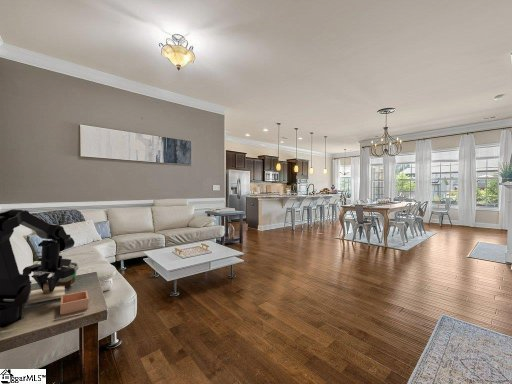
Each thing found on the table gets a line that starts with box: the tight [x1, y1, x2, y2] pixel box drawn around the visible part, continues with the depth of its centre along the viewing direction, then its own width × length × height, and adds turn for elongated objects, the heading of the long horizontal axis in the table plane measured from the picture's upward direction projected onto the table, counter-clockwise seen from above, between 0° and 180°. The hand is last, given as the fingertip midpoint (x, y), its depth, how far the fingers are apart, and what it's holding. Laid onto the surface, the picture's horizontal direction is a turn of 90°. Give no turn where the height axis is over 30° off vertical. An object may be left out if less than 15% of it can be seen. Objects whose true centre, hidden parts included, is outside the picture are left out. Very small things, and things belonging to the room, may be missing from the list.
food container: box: [56, 261, 80, 287], centre depth 111 cm, size 12×6×10 cm, turn 84°
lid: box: [28, 281, 66, 304], centre depth 97 cm, size 11×11×5 cm
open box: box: [59, 290, 90, 315], centre depth 91 cm, size 8×8×4 cm
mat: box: [23, 288, 68, 309], centre depth 97 cm, size 13×13×1 cm
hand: (48, 291), depth 97 cm, fingers closed on lid, 3 cm apart
